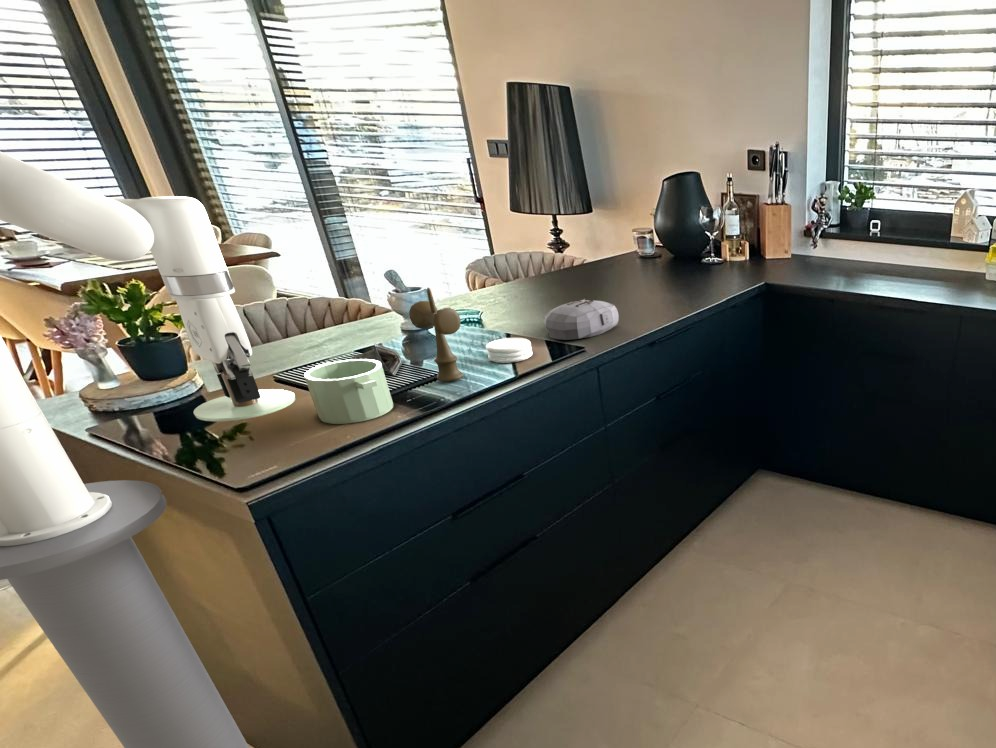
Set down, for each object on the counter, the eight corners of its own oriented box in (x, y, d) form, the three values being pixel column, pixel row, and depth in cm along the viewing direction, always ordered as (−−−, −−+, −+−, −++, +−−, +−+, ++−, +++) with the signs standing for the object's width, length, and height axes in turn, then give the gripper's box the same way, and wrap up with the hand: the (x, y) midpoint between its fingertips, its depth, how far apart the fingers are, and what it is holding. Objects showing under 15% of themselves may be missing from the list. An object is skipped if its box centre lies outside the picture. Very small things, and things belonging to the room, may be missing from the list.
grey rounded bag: (586, 320, 181) (532, 337, 165) (582, 291, 177) (527, 306, 161) (627, 327, 175) (576, 346, 159) (624, 297, 172) (571, 313, 156)
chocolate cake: (369, 364, 145) (336, 340, 133) (400, 353, 146) (369, 329, 135) (380, 399, 143) (347, 378, 131) (411, 387, 144) (381, 366, 132)
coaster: (486, 353, 152) (483, 340, 151) (529, 348, 157) (527, 334, 155) (490, 366, 145) (487, 351, 143) (536, 360, 149) (533, 346, 147)
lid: (215, 432, 95) (198, 391, 92) (182, 412, 101) (165, 373, 98) (311, 406, 105) (298, 369, 102) (276, 389, 111) (263, 354, 108)
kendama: (451, 371, 141) (429, 282, 132) (476, 380, 136) (455, 288, 127) (424, 379, 136) (400, 286, 127) (450, 388, 132) (427, 293, 123)
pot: (346, 433, 112) (331, 388, 108) (300, 410, 120) (285, 368, 116) (413, 411, 121) (401, 369, 117) (367, 392, 129) (354, 352, 125)
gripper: (147, 281, 95) (195, 393, 103) (188, 296, 87) (236, 416, 96) (209, 274, 101) (249, 381, 109) (253, 288, 93) (293, 402, 101)
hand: (243, 396), depth 102 cm, fingers closed on lid, 3 cm apart
